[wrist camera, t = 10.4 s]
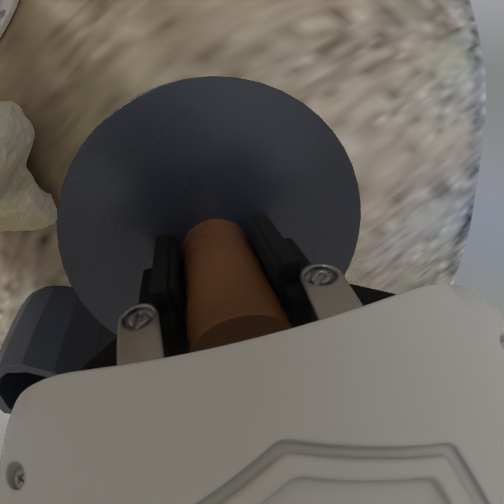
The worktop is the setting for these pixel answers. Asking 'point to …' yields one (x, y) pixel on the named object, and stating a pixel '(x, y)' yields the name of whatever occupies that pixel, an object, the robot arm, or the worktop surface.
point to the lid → (205, 202)
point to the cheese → (20, 176)
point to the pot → (48, 341)
